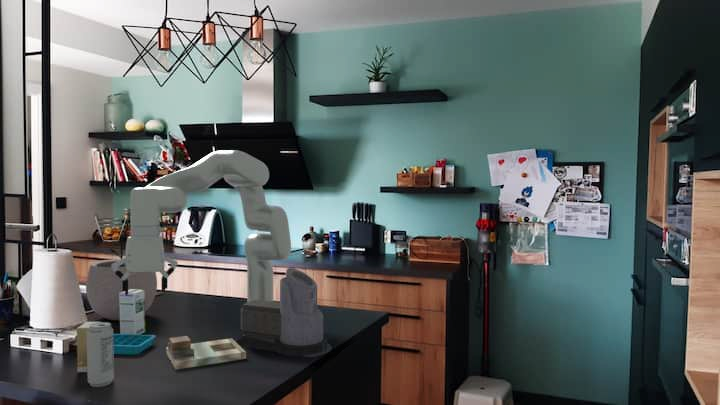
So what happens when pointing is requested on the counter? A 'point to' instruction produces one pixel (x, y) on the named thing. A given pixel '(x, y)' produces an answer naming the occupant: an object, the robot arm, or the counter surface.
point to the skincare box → (82, 346)
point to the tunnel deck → (207, 353)
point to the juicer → (286, 320)
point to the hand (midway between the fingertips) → (145, 292)
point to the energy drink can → (100, 354)
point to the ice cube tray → (131, 343)
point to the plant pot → (115, 286)
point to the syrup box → (132, 312)
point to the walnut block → (179, 344)
